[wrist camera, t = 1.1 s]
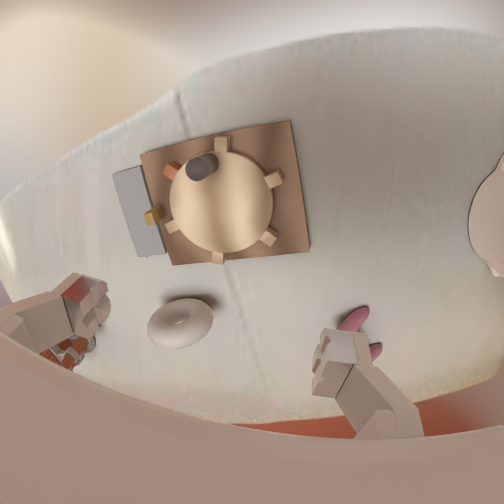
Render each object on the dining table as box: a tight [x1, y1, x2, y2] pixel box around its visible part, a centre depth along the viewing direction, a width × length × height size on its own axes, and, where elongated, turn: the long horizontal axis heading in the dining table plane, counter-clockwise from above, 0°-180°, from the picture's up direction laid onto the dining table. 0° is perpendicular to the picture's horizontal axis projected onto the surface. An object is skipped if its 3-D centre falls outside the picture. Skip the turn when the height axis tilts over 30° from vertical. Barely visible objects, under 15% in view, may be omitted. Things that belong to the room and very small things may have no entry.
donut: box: [148, 298, 213, 349], centre depth 41 cm, size 10×4×10 cm, turn 102°
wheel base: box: [140, 121, 310, 265], centre depth 35 cm, size 19×16×4 cm
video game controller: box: [336, 307, 382, 362], centre depth 40 cm, size 10×5×7 cm, turn 29°
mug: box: [39, 334, 95, 372], centre depth 48 cm, size 14×19×15 cm
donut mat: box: [112, 165, 167, 257], centre depth 39 cm, size 5×13×1 cm, turn 12°
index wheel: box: [162, 136, 284, 264], centre depth 33 cm, size 15×15×6 cm
